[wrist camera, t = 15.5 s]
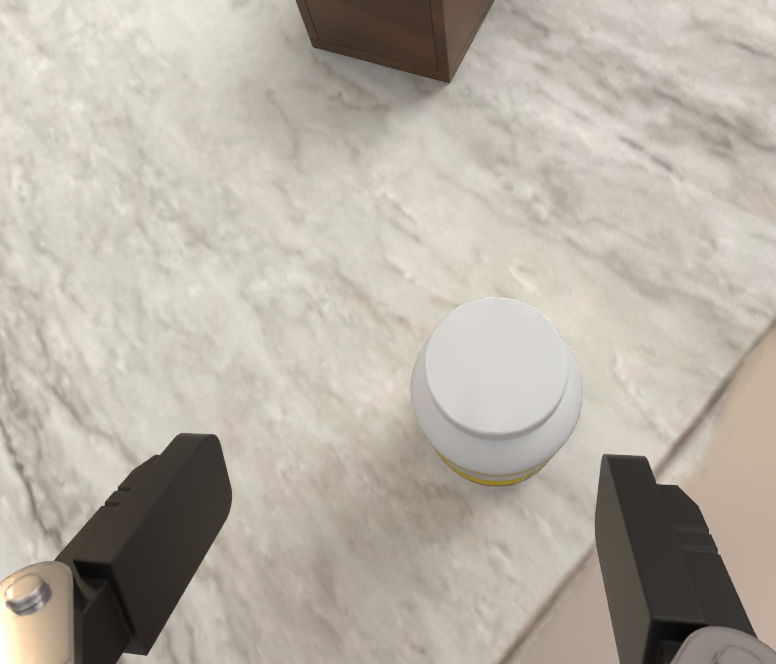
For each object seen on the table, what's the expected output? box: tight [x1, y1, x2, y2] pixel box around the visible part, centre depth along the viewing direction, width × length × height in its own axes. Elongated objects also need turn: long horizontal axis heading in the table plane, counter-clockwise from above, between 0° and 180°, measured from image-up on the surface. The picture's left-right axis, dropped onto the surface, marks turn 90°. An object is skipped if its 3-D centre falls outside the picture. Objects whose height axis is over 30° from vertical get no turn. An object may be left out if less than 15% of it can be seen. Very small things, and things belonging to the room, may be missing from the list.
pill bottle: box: [411, 297, 583, 486], centre depth 24 cm, size 6×6×12 cm
